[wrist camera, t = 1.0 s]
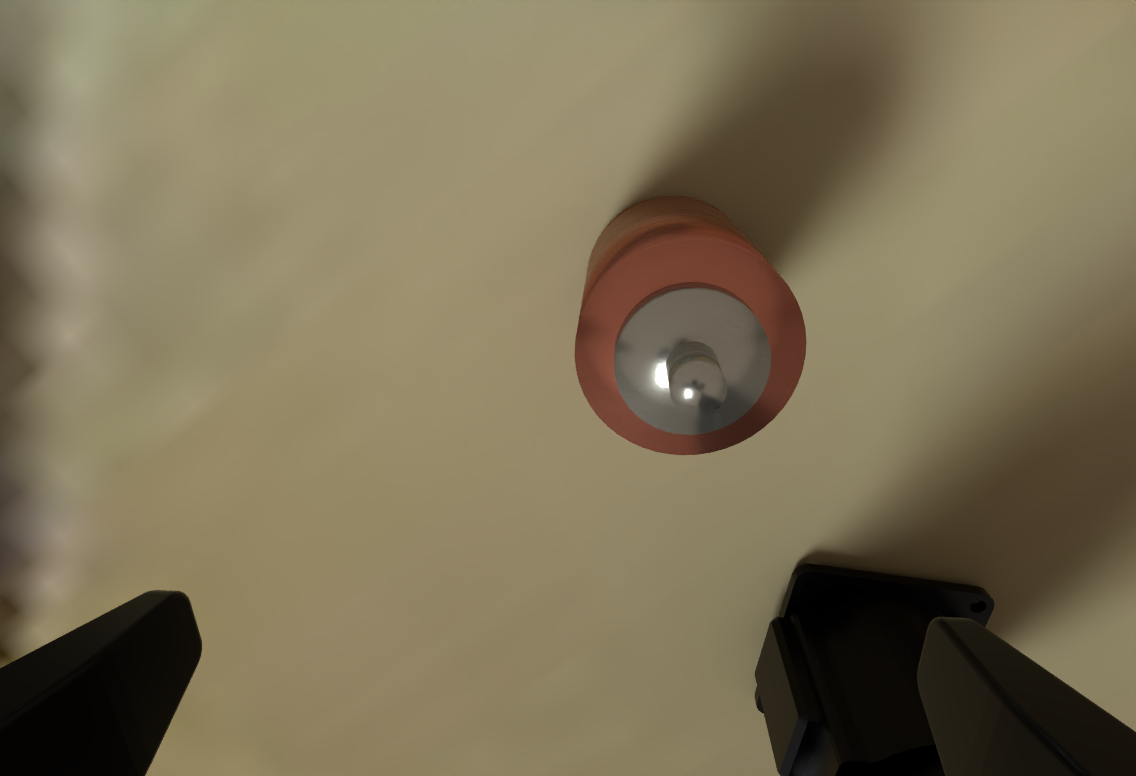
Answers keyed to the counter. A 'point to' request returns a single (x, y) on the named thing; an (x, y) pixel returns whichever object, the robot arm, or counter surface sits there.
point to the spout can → (685, 330)
